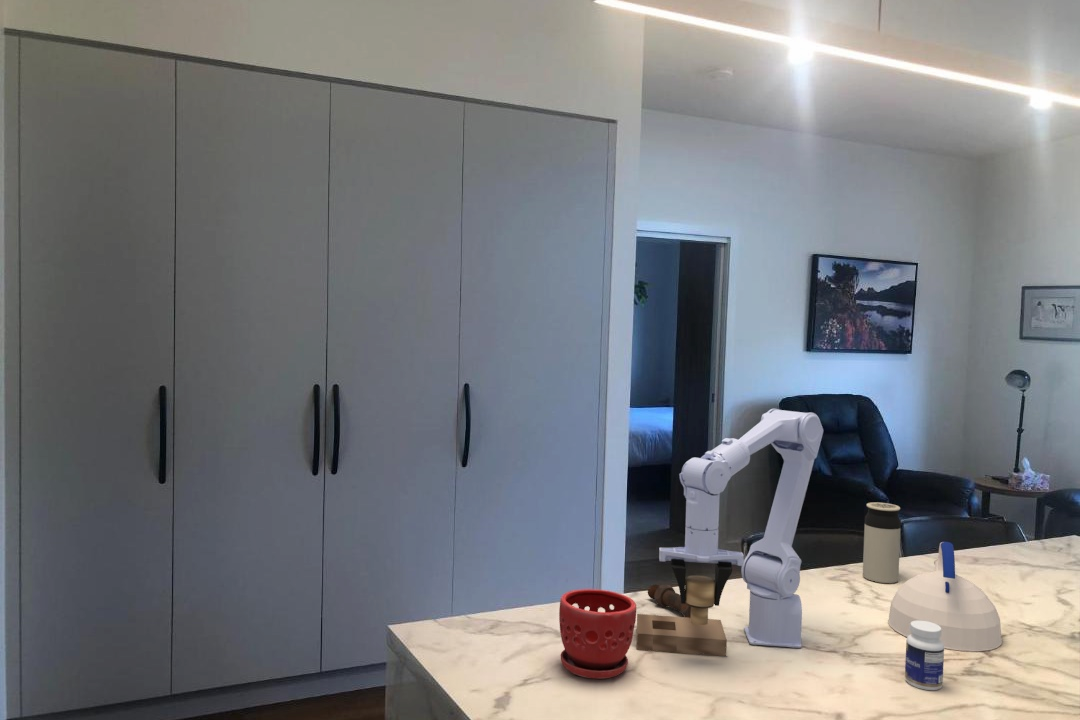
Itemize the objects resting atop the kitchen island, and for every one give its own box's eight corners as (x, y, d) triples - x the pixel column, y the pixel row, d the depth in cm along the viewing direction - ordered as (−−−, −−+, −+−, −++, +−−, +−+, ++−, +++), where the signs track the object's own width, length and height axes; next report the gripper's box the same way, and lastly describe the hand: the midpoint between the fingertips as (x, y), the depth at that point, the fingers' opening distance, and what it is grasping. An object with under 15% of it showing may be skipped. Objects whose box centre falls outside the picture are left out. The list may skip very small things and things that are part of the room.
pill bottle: (897, 676, 131) (900, 619, 131) (929, 675, 132) (931, 618, 132) (917, 691, 126) (919, 632, 125) (950, 691, 126) (952, 631, 126)
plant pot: (613, 692, 123) (615, 618, 122) (543, 671, 130) (545, 601, 129) (646, 664, 134) (648, 596, 133) (580, 646, 141) (582, 581, 140)
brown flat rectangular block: (720, 635, 148) (720, 619, 148) (726, 656, 138) (726, 639, 138) (636, 629, 150) (637, 613, 150) (636, 649, 140) (637, 633, 140)
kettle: (995, 623, 158) (999, 537, 158) (1009, 661, 139) (1013, 563, 139) (888, 606, 167) (891, 524, 166) (887, 639, 148) (891, 547, 147)
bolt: (655, 607, 168) (699, 629, 154) (638, 598, 166) (682, 619, 152) (666, 582, 169) (711, 602, 156) (650, 573, 167) (694, 592, 154)
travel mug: (904, 584, 182) (907, 509, 181) (870, 583, 182) (873, 508, 182) (889, 574, 190) (892, 502, 189) (857, 573, 190) (860, 501, 190)
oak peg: (712, 617, 138) (713, 576, 137) (715, 628, 133) (717, 585, 132) (682, 615, 138) (684, 574, 138) (685, 626, 133) (686, 584, 133)
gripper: (661, 530, 132) (659, 607, 132) (747, 534, 130) (744, 613, 131) (659, 520, 139) (657, 594, 139) (741, 524, 137) (738, 599, 138)
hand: (699, 602), depth 135 cm, fingers closed on oak peg, 5 cm apart
